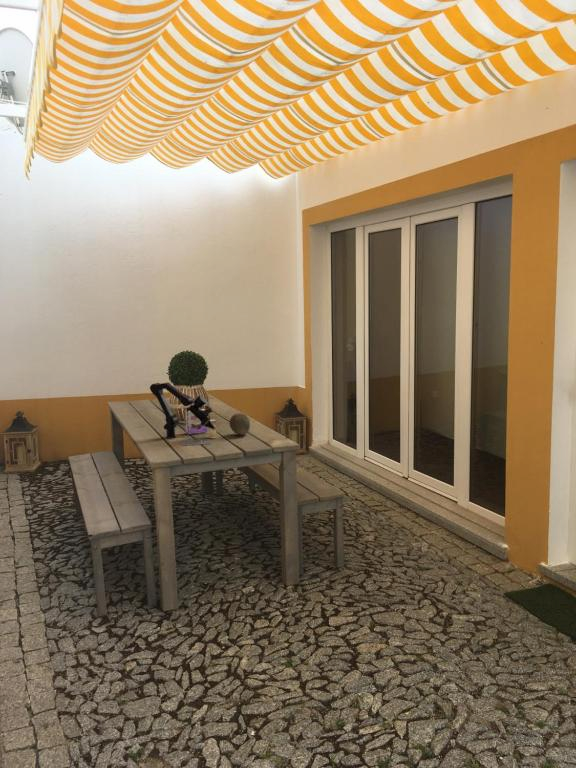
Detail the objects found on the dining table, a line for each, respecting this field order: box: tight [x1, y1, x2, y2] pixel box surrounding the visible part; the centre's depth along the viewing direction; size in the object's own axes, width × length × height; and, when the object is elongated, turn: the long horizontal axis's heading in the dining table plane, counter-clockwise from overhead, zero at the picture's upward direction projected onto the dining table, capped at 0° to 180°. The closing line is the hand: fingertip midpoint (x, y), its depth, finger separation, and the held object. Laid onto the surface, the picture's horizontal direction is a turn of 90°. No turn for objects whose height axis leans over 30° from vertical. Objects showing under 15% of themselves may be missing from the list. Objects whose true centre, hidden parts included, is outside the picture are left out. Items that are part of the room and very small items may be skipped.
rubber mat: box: [181, 438, 211, 447], centre depth 424 cm, size 14×18×1 cm
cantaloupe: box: [228, 413, 251, 436], centre depth 442 cm, size 14×14×15 cm
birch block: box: [208, 419, 217, 439], centre depth 436 cm, size 4×4×12 cm
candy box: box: [184, 408, 208, 435], centre depth 451 cm, size 14×6×16 cm, turn 112°
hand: (214, 427), depth 436 cm, fingers open, 9 cm apart
